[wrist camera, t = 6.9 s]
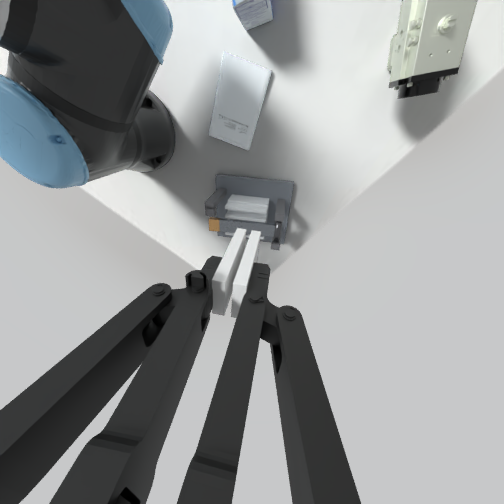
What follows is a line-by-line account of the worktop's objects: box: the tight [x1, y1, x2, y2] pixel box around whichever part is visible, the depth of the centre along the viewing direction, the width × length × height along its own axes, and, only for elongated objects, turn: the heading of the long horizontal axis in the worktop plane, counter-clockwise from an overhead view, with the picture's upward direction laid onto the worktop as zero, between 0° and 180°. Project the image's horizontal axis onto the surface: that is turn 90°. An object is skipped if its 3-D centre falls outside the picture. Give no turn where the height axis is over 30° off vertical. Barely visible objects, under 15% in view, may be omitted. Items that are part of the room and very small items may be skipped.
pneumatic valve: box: [387, 0, 477, 99], centre depth 26 cm, size 6×12×12 cm, turn 8°
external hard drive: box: [209, 51, 272, 150], centre depth 38 cm, size 2×8×12 cm
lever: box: [209, 217, 283, 243], centre depth 40 cm, size 14×4×1 cm, turn 87°
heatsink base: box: [205, 174, 294, 250], centre depth 44 cm, size 16×14×10 cm
